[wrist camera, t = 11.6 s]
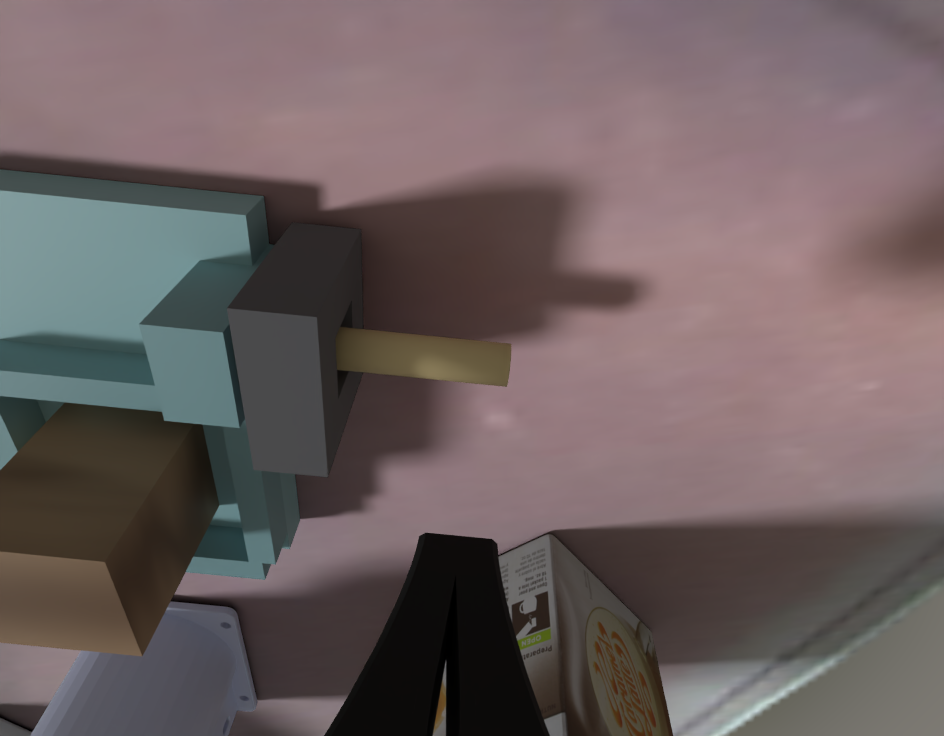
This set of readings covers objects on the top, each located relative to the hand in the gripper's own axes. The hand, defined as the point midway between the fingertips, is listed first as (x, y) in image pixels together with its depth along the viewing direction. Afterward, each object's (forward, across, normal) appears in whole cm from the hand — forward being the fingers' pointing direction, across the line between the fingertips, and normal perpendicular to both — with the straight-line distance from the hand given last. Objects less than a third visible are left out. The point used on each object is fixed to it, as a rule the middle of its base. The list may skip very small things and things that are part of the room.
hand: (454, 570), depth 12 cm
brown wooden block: (+8, +11, +6) cm, 15 cm away
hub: (+10, +5, 0) cm, 11 cm away
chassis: (+10, +7, +4) cm, 13 cm away
